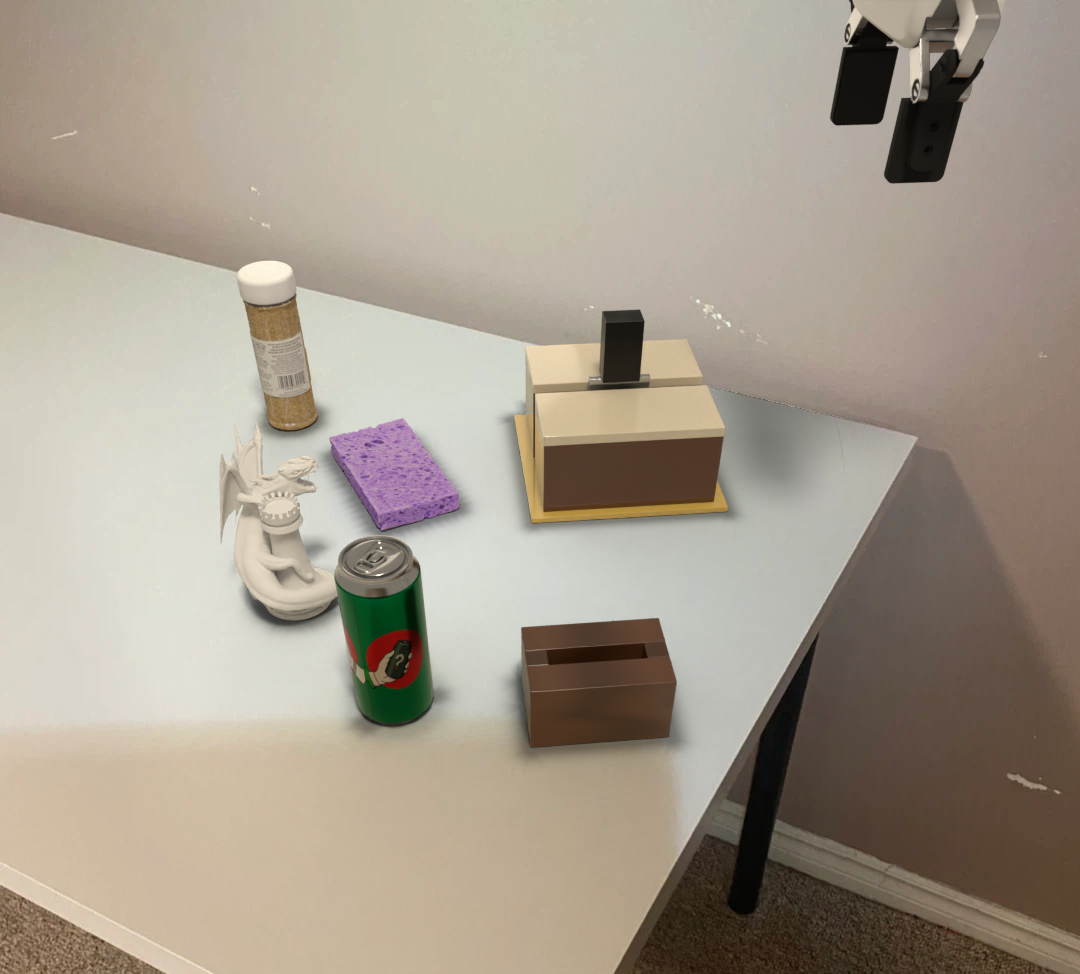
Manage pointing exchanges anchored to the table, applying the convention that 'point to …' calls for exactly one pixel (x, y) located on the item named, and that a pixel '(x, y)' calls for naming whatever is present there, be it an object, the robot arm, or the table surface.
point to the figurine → (273, 532)
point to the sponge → (394, 474)
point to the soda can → (385, 628)
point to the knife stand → (596, 682)
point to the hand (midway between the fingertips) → (882, 150)
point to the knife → (620, 352)
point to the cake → (618, 437)
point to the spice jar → (278, 343)
